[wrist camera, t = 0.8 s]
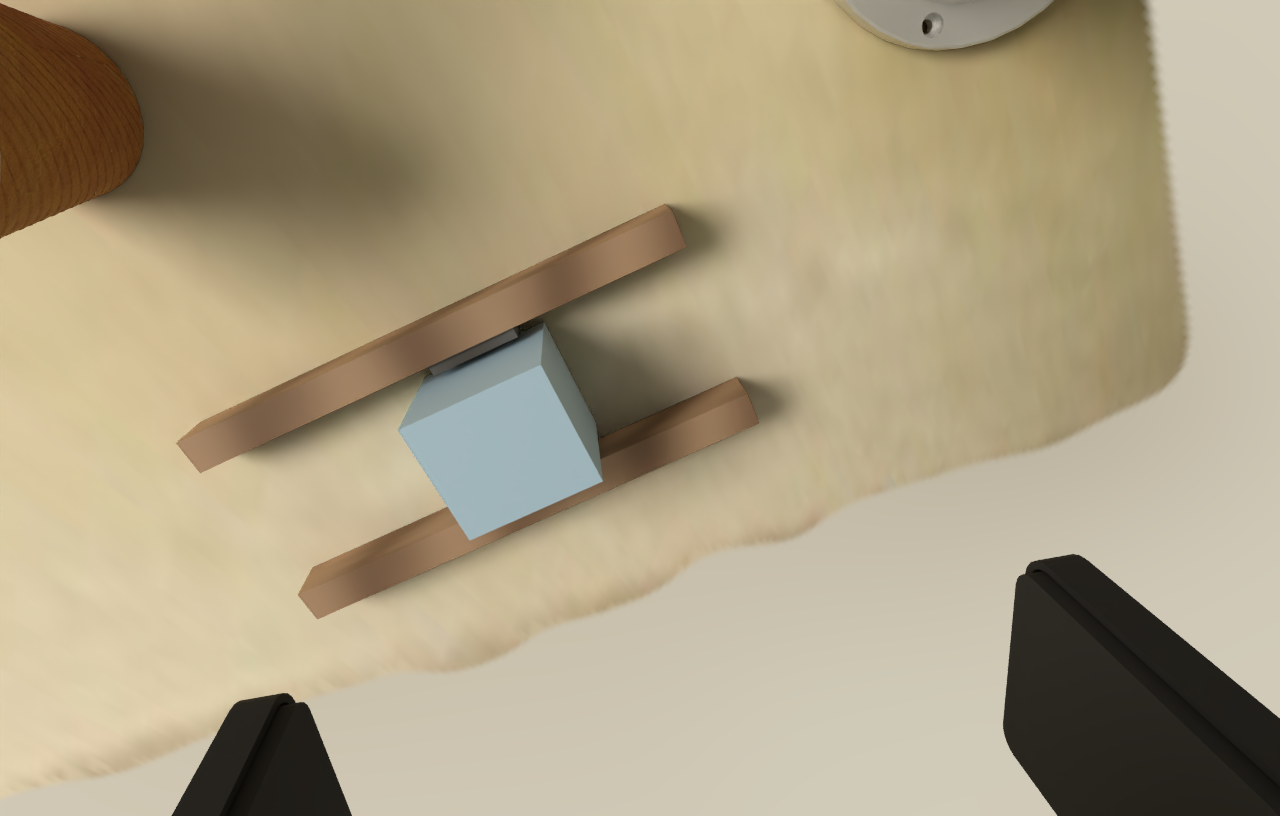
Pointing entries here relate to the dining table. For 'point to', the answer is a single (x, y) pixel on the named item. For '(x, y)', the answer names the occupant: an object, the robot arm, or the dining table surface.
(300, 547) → the dining table surface
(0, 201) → the disposable coffee cup
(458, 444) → the block
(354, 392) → the chute
